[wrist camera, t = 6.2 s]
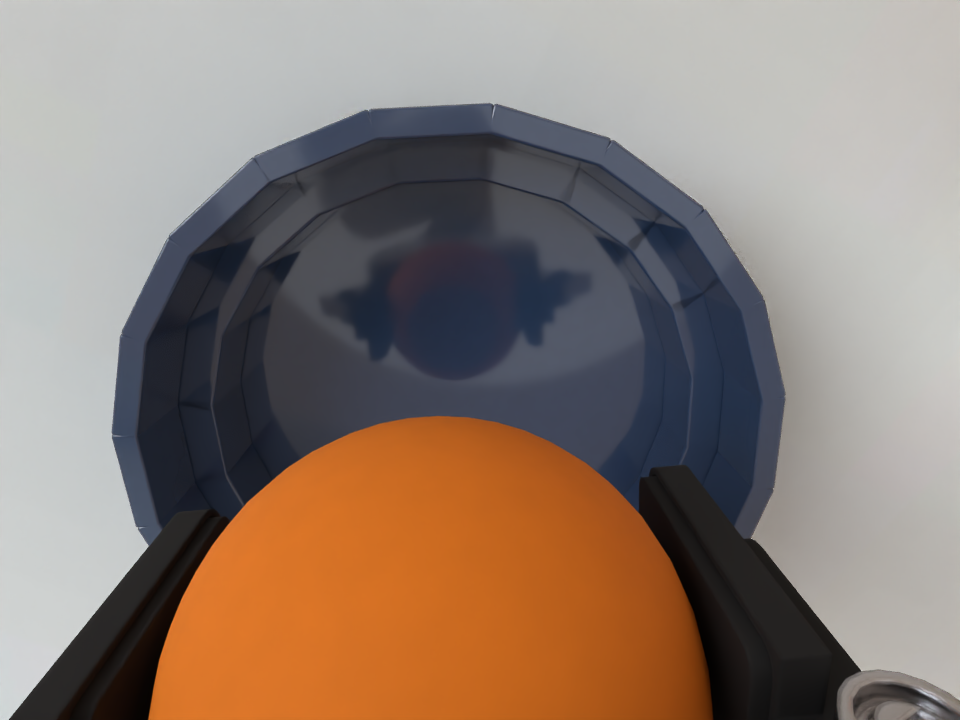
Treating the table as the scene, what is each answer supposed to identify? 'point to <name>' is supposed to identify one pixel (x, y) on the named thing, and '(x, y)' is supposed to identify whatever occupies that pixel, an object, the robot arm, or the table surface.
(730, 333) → the blue bowl
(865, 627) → the table surface
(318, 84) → the table surface
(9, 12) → the table surface
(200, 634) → the orange
